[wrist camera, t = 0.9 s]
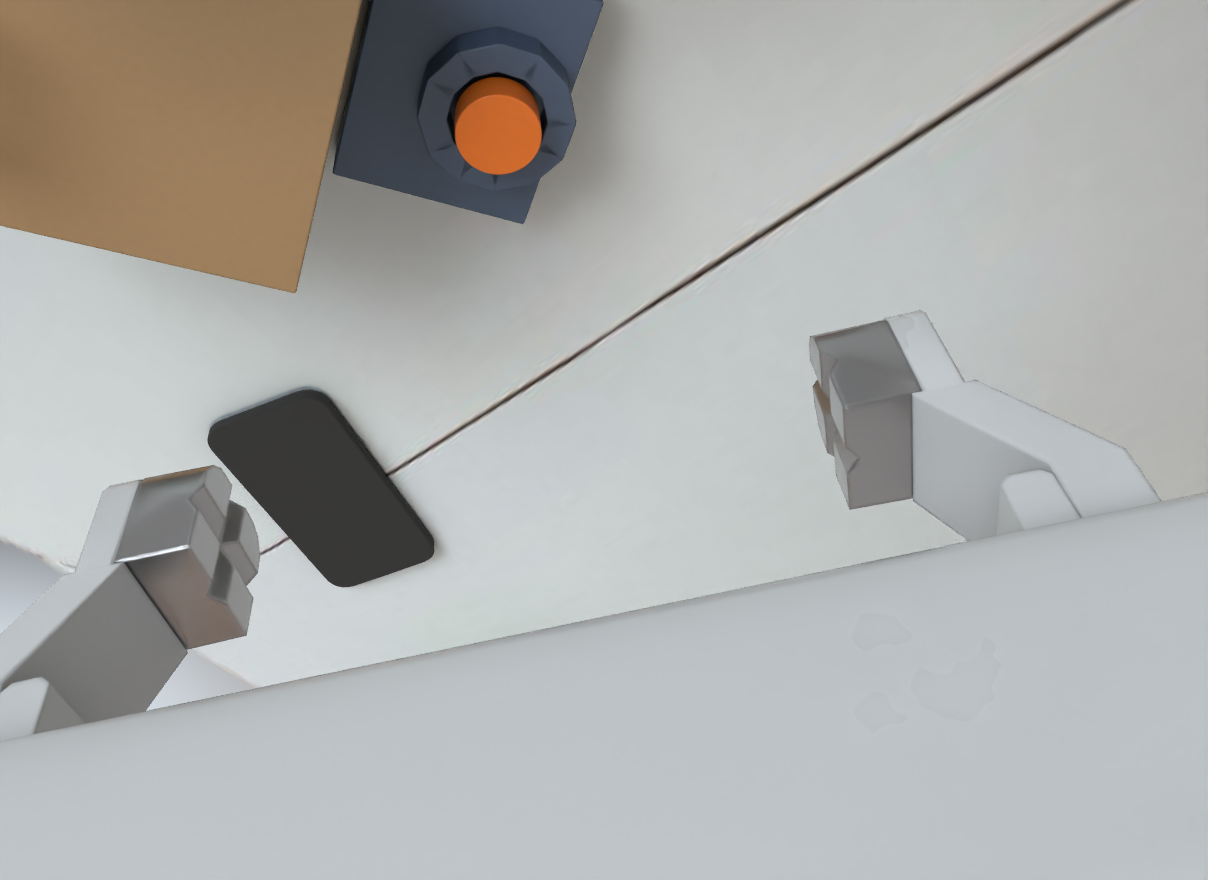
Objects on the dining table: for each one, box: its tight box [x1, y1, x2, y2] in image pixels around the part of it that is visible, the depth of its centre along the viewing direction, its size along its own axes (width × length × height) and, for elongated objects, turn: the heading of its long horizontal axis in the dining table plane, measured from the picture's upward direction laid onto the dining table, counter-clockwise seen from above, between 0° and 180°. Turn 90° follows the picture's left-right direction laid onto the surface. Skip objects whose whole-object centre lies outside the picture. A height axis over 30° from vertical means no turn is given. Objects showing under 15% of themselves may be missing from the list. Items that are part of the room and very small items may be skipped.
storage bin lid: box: [0, 0, 362, 293], centre depth 37 cm, size 16×13×5 cm
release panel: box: [333, 0, 603, 224], centre depth 49 cm, size 9×11×4 cm
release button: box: [455, 77, 542, 175], centre depth 47 cm, size 4×4×2 cm
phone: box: [208, 390, 434, 587], centre depth 66 cm, size 7×1×15 cm
